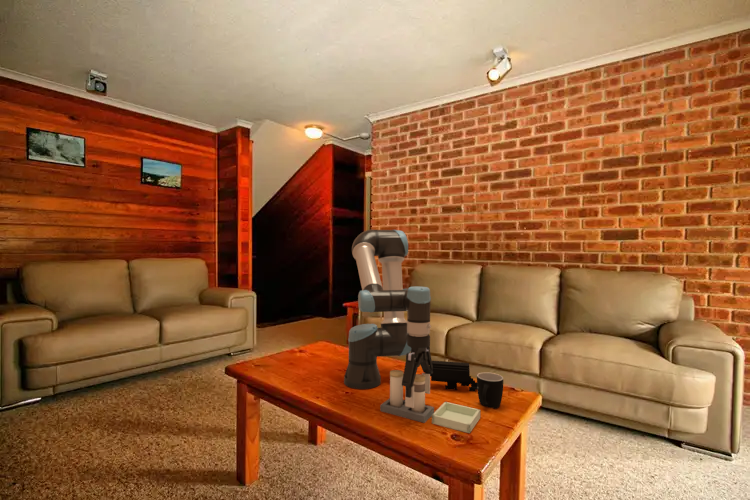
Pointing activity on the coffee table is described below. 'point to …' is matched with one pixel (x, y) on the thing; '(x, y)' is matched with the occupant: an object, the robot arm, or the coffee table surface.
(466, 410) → the parts tray
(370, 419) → the coffee table surface
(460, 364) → the security camera
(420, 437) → the coffee table surface
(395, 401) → the block
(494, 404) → the mug
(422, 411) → the fuse
